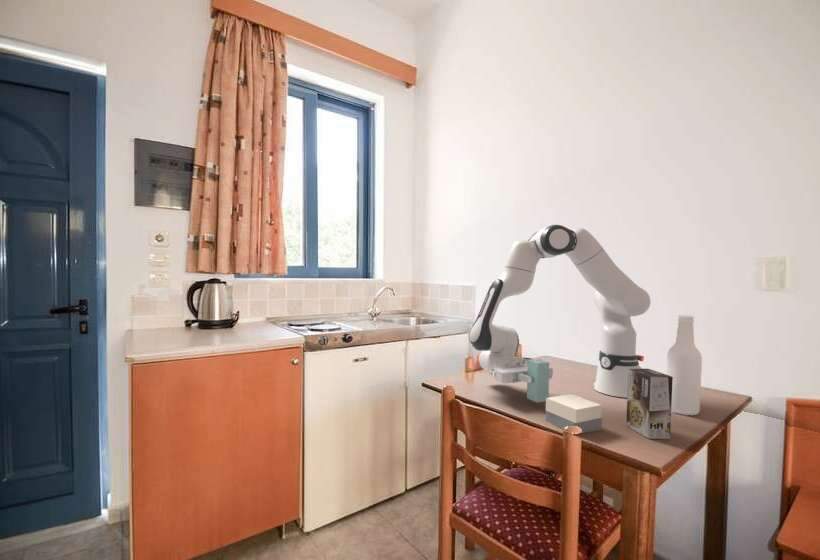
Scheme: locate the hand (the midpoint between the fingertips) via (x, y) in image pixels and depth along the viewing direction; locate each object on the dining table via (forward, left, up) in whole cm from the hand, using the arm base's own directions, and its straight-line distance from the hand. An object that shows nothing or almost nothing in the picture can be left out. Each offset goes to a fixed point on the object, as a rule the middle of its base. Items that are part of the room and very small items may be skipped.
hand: (540, 379), depth 118 cm
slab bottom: (+1, +14, -9) cm, 17 cm away
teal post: (0, -1, -7) cm, 7 cm away
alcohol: (-43, +16, -9) cm, 46 cm away
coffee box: (-16, +24, -9) cm, 30 cm away
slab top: (+1, +14, -6) cm, 15 cm away
